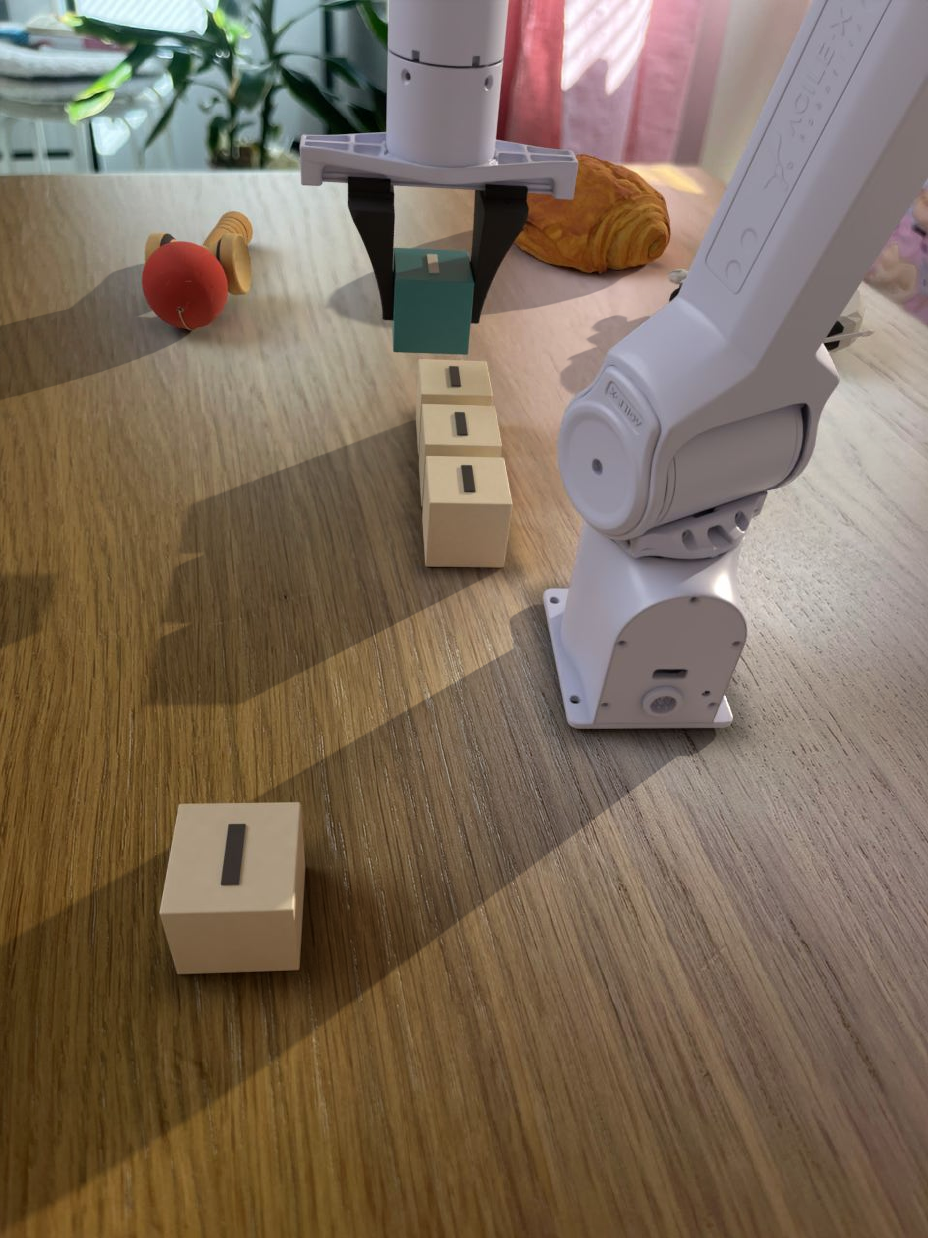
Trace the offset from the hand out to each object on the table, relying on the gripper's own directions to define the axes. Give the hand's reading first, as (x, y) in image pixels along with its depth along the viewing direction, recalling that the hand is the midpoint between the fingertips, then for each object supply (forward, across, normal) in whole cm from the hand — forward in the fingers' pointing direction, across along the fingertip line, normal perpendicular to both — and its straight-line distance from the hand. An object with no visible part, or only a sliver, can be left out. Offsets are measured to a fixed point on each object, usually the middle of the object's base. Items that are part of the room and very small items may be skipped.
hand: (430, 314), depth 55 cm
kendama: (+9, +16, -21) cm, 28 cm away
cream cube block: (+8, -2, 0) cm, 9 cm away
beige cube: (+8, -2, +11) cm, 14 cm away
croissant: (+9, -16, -33) cm, 38 cm away
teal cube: (+1, 0, 0) cm, 1 cm away
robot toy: (+9, -28, -16) cm, 33 cm away
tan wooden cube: (+8, -2, +6) cm, 10 cm away
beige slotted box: (+8, +8, +34) cm, 36 cm away
